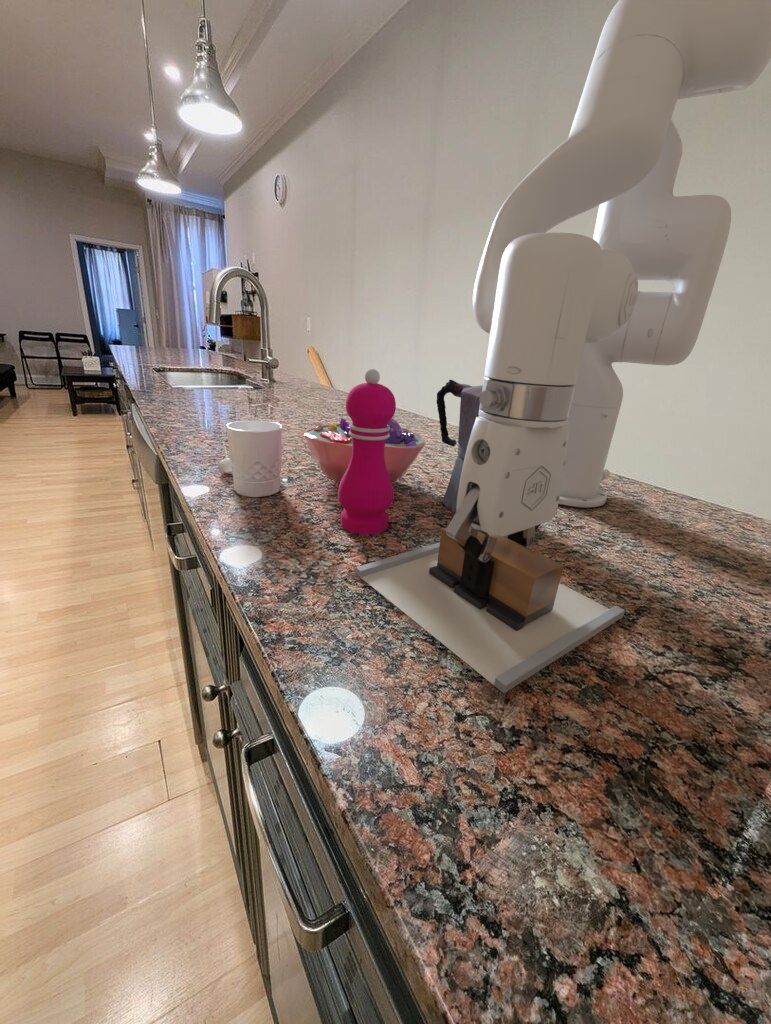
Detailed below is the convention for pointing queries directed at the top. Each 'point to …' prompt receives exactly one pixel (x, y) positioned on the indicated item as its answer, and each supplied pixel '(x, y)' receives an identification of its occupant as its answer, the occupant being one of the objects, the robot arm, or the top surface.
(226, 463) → the macaroon
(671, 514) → the top surface
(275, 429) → the white cup
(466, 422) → the moka pot
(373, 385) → the pepper mill
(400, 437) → the cell model
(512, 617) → the stroke
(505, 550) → the eraser
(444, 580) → the stroke
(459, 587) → the stroke
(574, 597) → the memo board
